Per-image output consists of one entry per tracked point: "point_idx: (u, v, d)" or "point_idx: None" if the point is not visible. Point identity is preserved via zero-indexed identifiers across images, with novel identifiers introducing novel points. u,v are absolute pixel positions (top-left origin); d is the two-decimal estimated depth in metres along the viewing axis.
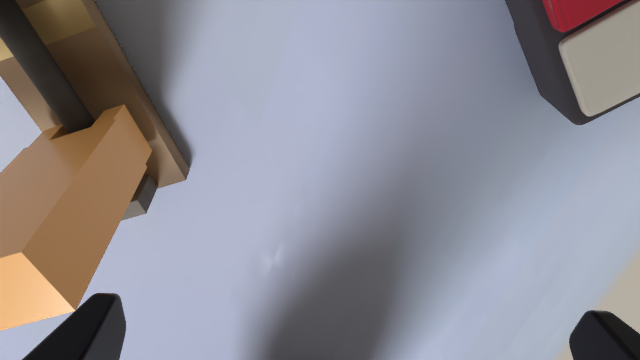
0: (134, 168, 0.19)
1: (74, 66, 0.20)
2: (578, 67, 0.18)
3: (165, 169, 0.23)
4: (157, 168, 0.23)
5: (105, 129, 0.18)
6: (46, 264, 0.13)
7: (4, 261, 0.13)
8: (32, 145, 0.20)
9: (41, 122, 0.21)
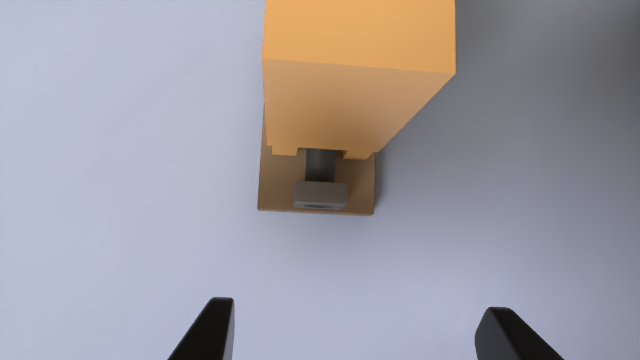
0: None
1: None
2: None
3: (359, 191, 0.20)
4: (351, 188, 0.20)
5: None
6: (449, 14, 0.11)
7: None
8: None
9: None
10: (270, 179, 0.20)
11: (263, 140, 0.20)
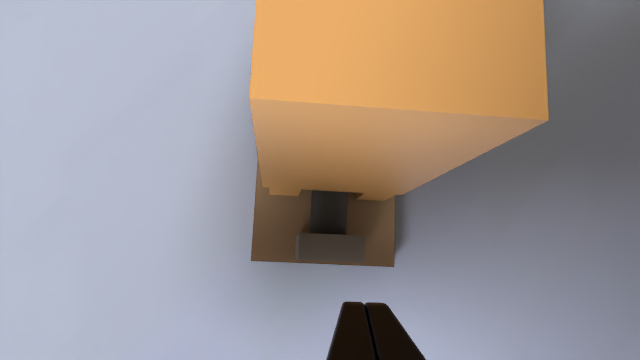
0: None
1: None
2: None
3: (376, 239, 0.16)
4: (367, 235, 0.16)
5: None
6: (532, 27, 0.07)
7: None
8: None
9: None
10: (267, 224, 0.16)
11: (258, 176, 0.16)
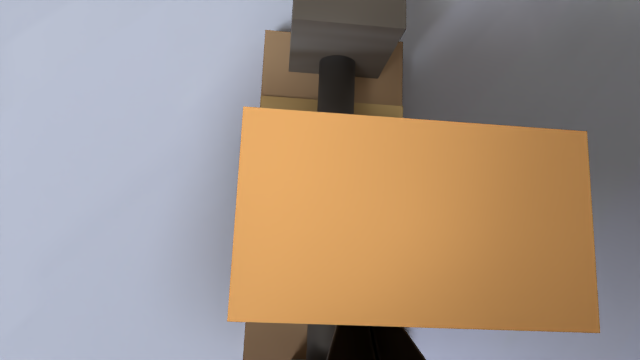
0: None
1: None
2: None
3: None
4: None
5: None
6: (574, 199, 0.06)
7: (541, 139, 0.06)
8: None
9: None
10: (259, 346, 0.15)
11: None
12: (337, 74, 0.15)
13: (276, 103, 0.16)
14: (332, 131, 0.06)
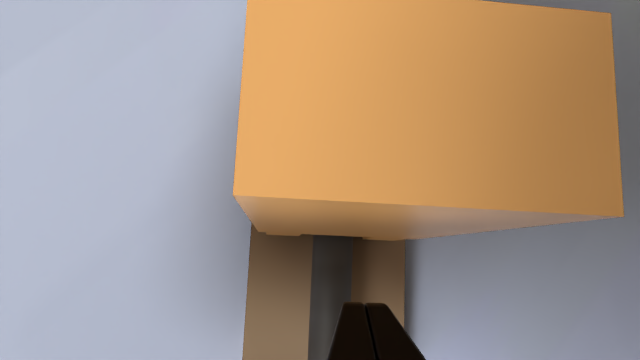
0: None
1: None
2: None
3: None
4: None
5: None
6: (596, 88, 0.06)
7: (562, 20, 0.06)
8: None
9: (256, 284, 0.14)
10: None
11: (245, 352, 0.14)
12: None
13: None
14: (343, 6, 0.05)
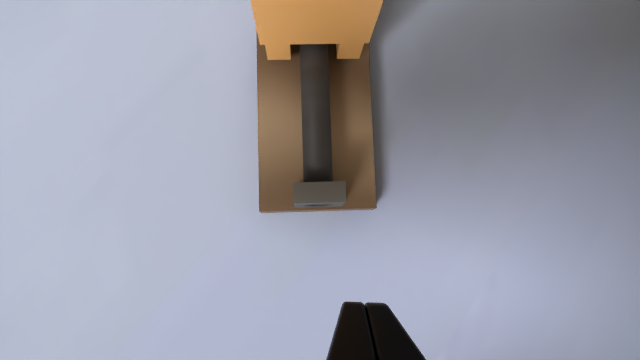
0: None
1: (328, 56, 0.21)
2: None
3: (360, 186, 0.20)
4: (352, 183, 0.20)
5: None
6: None
7: None
8: None
9: (263, 97, 0.20)
10: (270, 181, 0.20)
11: (260, 143, 0.20)
12: None
13: None
14: None
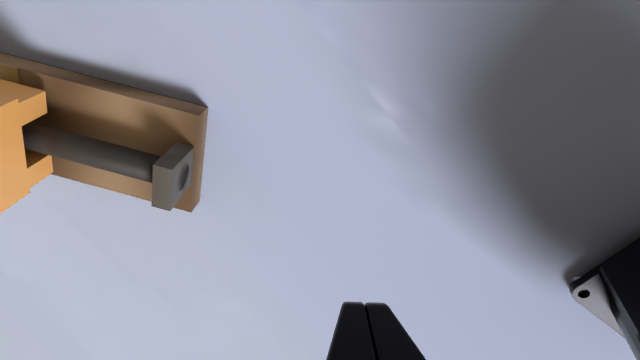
0: None
1: (48, 113, 0.20)
2: None
3: (177, 124, 0.20)
4: (173, 130, 0.20)
5: None
6: None
7: None
8: None
9: (90, 180, 0.22)
10: None
11: (131, 194, 0.22)
12: None
13: None
14: None
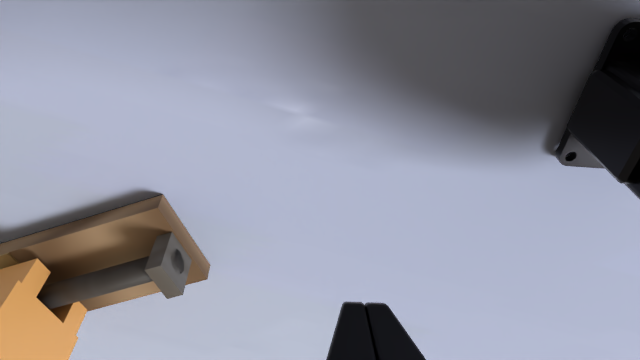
0: None
1: (53, 271, 0.23)
2: None
3: (147, 223, 0.22)
4: (148, 229, 0.22)
5: None
6: None
7: None
8: None
9: (118, 299, 0.24)
10: None
11: (155, 291, 0.24)
12: None
13: None
14: None
